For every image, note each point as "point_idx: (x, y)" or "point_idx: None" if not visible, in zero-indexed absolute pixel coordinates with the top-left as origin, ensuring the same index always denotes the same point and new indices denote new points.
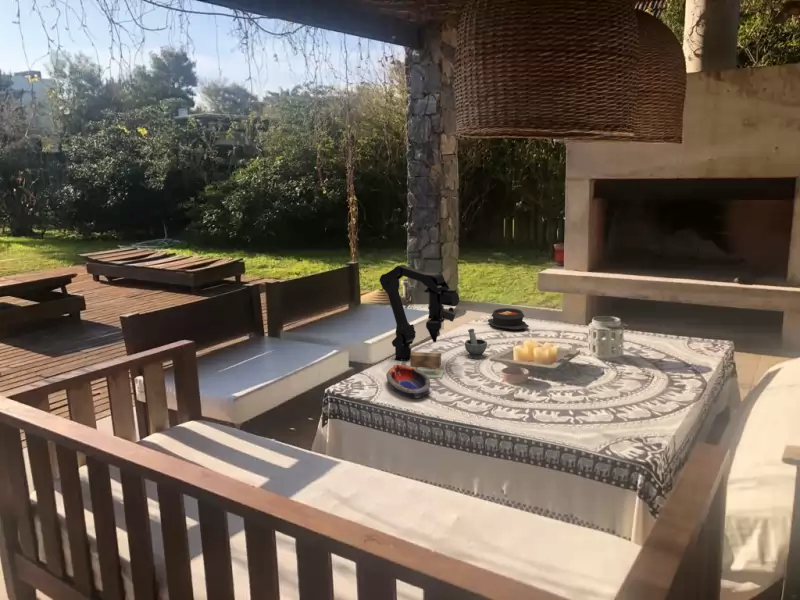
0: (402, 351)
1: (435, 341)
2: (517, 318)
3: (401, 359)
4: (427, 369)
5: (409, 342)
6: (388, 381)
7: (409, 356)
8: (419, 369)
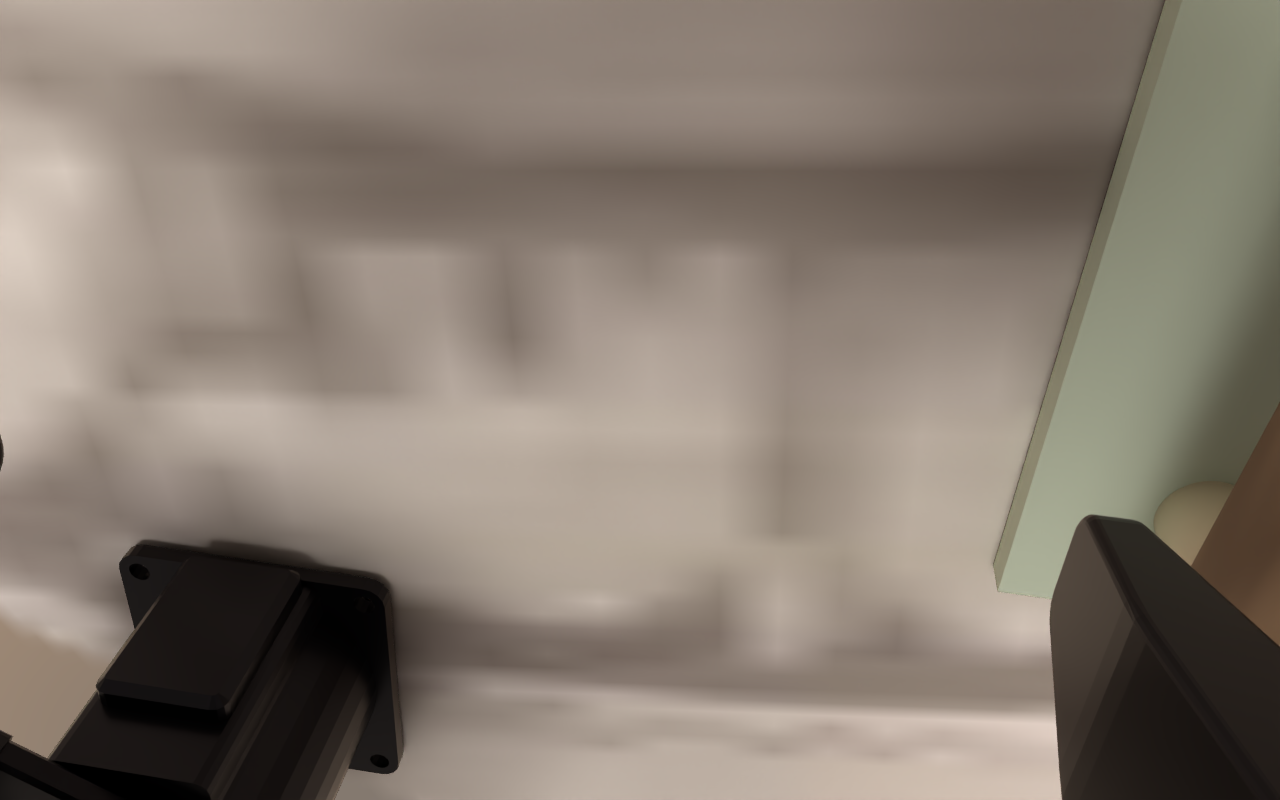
0: (319, 795)
1: (1150, 559)
2: None
3: (394, 690)
4: (1109, 282)
5: (12, 796)
6: None
7: (290, 605)
8: (1072, 444)
